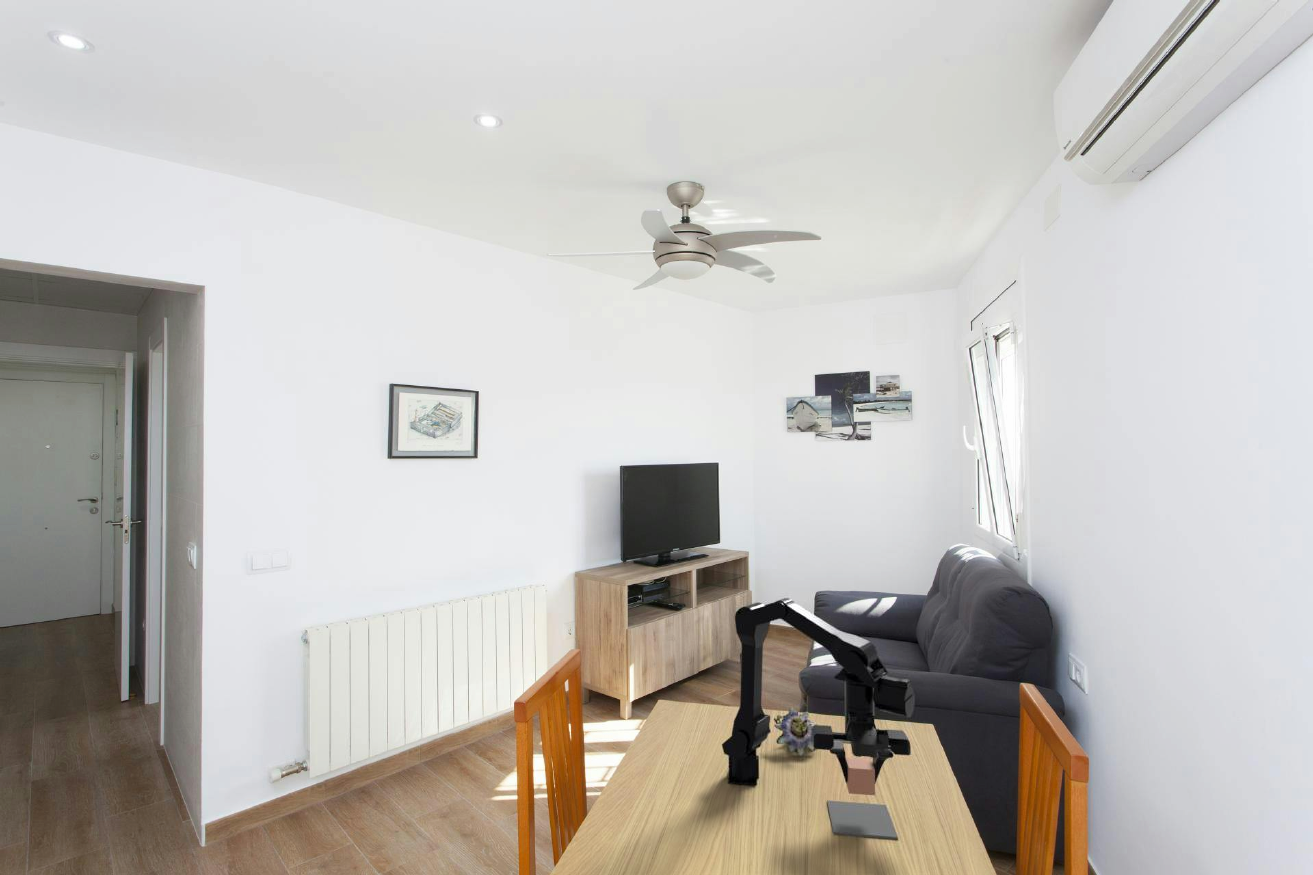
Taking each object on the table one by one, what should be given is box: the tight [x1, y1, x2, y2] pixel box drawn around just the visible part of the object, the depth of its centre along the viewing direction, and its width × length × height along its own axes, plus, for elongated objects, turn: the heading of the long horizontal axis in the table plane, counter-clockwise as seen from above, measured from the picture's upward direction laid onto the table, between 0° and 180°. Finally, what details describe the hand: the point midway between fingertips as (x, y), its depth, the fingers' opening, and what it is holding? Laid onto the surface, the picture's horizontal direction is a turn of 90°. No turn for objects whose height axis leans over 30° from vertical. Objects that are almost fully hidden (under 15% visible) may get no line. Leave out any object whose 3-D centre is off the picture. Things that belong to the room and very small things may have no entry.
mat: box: [826, 799, 899, 840], centre depth 133 cm, size 12×12×1 cm
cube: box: [845, 756, 876, 796], centre depth 133 cm, size 5×5×5 cm
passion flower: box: [773, 706, 818, 757], centre depth 166 cm, size 11×11×12 cm
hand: (859, 782), depth 133 cm, fingers closed on cube, 5 cm apart
